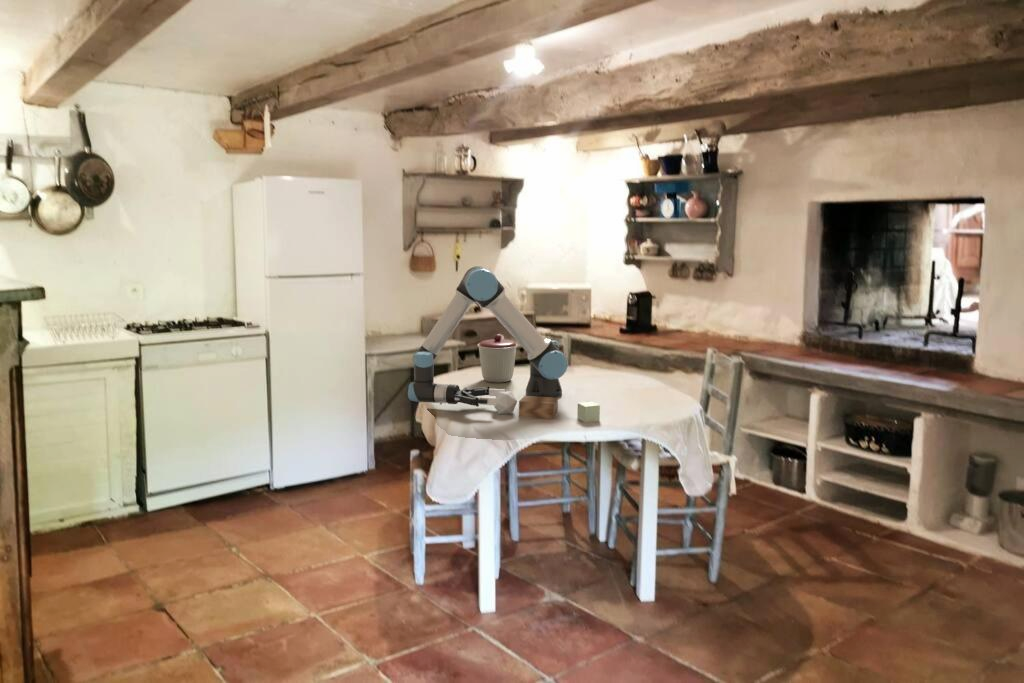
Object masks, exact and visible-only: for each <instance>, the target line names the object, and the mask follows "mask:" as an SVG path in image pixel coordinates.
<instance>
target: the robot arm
mask: <svg viewBox="0 0 1024 683" xmlns="http://www.w3.org/2000/svg"><path fill="white" fill-rule="evenodd" d="M505 293H506V288H505V286H504V285H502V283H501V282H500V281H499V280H498V278H497V277H496V275H495V274H494V273H493V272H492V271H491V270H489V269H487V268H485V267H483V266H477V265H475V266H472V267H470V268H468V270H466V271H465V273H464V275H463V277H462V278H461V281H460V282H459V283H458V286H456V289H455V294H454V296H453V297H452V299H451V300H450V302H449V304H448V305H447V307H446V308H445V310H444V311H443V313H442V314H441V315H440V317H439V319H438V320H437V322H436V323H435V325H434V326H433V328H432V329H431V330H430V332H429V334H428V335H427V337H426V338H425V340H423V342H422V344H421V346H420V347H419V348H418V349H417V351H416V352H414V354H413V356H412V364H413V376H414V377H413V378H414V380H413V381H411V382H410V383H409V385H408V390H407V396H408V399H409V400H410V401H411V402H418V403H432V404H433V403H435V404H439V405H443V404H448V405H457V404H458V403H461V404H463V405H464V404H465V405H470V406H474V407H479V406H480V405H482V406H483V405H486V406H487V405H488V406H494V405H497V398H495V397H496V395H497V392H506V389H504V388H503V389H502V388H500V389H499V388H491V387H490V386H487V387H486V386H485V387H484V386H483V387H481V386H480V387H464V388H463V389H460V386H459V385H458V384H447V383H435V382H434V373H435V372H434V371H435V369H434V364H435V363H434V362H435V359H436V358H437V356H438V355H439V353H440V351H441V350H442V349H443V348H444V346H445V344H446V343H447V342H448V340H449V338H450V337H451V336H452V335H453V333H454V331H455V330H456V328H457V326H458V325H459V324H460V323H461V321H462V319H464V316H465V315H466V313H467V312H468V311H469V309H470V308H471V306H472V305H473V304H476V303H477V304H478V306H480V307H481V308H482V309H485V310H486V309H487V310H489V311H490V313H491V314H492V315H493V316H494V317H495V318H496V319H497V321H499V323H500V324H501V325H502V326H503V327H504V328H505V329H506V331H507V332H508V333H509V334H510V335H511V337H513V338H514V340H515V341H516V343H517V344H519V345H520V346H521V347H522V348H523V349H524V350H525V352H526V353H527V360H528V361H529V379H528V382H527V385H526V388H525V396H537V397H553V398H558V399H559V398H560V397H562V396H563V389H562V386H561V383H560V378H562V377H563V376H564V375H565V374H566V372H567V369H568V365H569V362H568V358H567V356H566V354H565V353H563V352H562V351H561V350H560V346H559V342H558V341H557V340H551V339H550V338H544V337H543V336H542V335H541V334H540V332H539V331H538V330H537V329H536V328H535V327H534V325H533V324H532V323H531V322H530V321H529V320H528V318H527V317H526V316H525V315H524V314H523V313H522V312H521V311H520V310H519V308H518V307H517V306H516V305H515V304H514V303H513V302H512V300H511V299H510V298H509V297H508V296H507V295H506V294H505ZM489 396H490V397H489Z"/></svg>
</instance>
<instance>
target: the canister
mask: <svg viewBox="0 0 1024 683" xmlns="http://www.w3.org/2000/svg"><path fill="white" fill-rule="evenodd" d="M518 344H519V343H517V342H515V341H513V340H510V339H505V338H504V339H503V338H502V335H501V334H494V336H493V339H486V340H483V341H482V340H481V341H480V342H479V343H477V347H478V354H479V362H480V370H481V376H482V378H483V380H484V381H486V382H489V383H493V384H494V383H508V382H510V381H511V380H512V379H513V376H514V370H515V364H516V362H515V360H516V354H517V348H518V347H519V345H518Z"/></svg>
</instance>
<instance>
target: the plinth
mask: <svg viewBox="0 0 1024 683" xmlns="http://www.w3.org/2000/svg"><path fill="white" fill-rule="evenodd" d="M558 403H559V397H558V398H553V397H537V396H526V395H523V397H522V398H521V399H520V400H519V401H518V417H519V418H530V419H531V418H532V419H545V420H554V419H555V418H556V416H557V415H558V414H559V412H558V408H559V404H558Z"/></svg>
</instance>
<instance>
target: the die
mask: <svg viewBox="0 0 1024 683" xmlns="http://www.w3.org/2000/svg"><path fill="white" fill-rule="evenodd" d="M494 398H497V405H493V406H494V408H495V409H496V412H497V413H498V414H499V415H507V414H508V415H510V414H511V415H512V413H514V411H515V409H516V406H517V403H518V400H517V398H516V396H515V395H514V394H513V392H512V390H511V391H510V390H509V391H506V392H497V395H496V396H494Z"/></svg>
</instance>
